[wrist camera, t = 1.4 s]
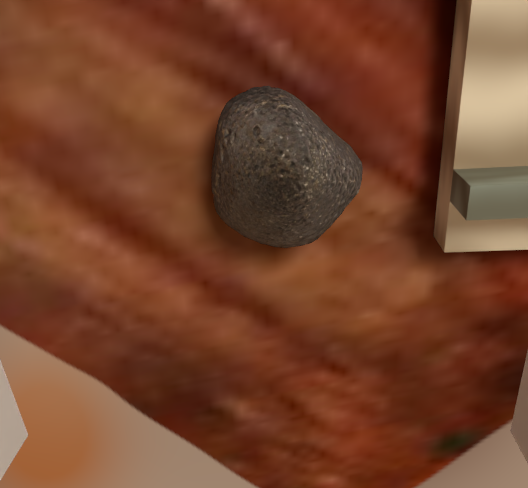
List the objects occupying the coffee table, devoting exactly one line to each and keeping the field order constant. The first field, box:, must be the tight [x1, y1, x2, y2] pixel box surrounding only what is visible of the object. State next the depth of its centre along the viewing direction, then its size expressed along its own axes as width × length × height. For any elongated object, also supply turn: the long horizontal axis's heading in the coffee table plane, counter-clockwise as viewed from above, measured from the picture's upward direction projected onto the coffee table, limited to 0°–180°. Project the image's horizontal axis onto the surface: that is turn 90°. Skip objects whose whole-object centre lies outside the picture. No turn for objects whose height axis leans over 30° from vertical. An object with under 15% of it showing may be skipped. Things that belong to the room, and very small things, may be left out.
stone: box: [211, 86, 362, 248], centre depth 30 cm, size 10×8×10 cm
